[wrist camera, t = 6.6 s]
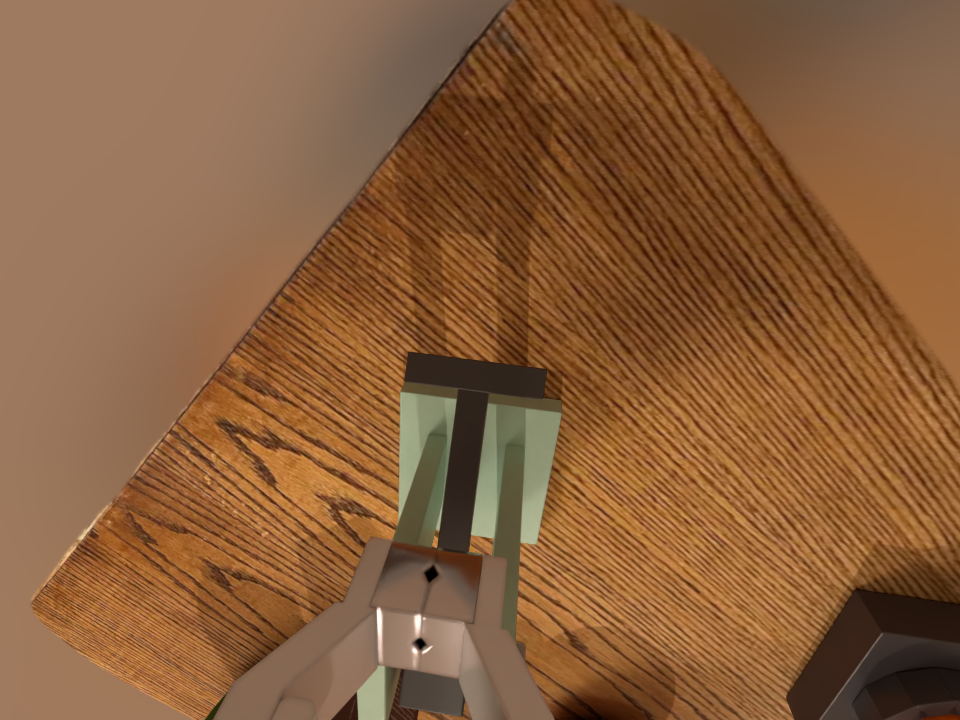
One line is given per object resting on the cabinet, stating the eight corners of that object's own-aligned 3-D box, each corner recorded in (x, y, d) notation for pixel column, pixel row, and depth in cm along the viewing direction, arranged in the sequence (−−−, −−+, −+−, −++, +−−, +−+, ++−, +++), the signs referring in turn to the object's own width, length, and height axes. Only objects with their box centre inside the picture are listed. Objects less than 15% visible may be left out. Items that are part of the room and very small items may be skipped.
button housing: (855, 588, 29) (904, 666, 25) (1019, 613, 29) (1095, 695, 25) (785, 697, 34) (816, 776, 30) (923, 720, 34) (974, 802, 30)
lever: (416, 354, 20) (404, 350, 18) (543, 370, 20) (548, 368, 17) (375, 661, 20) (357, 700, 17) (504, 682, 19) (503, 725, 17)
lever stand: (405, 379, 26) (301, 594, 15) (561, 399, 26) (575, 637, 14) (403, 509, 30) (320, 754, 19) (536, 529, 30) (533, 792, 19)
